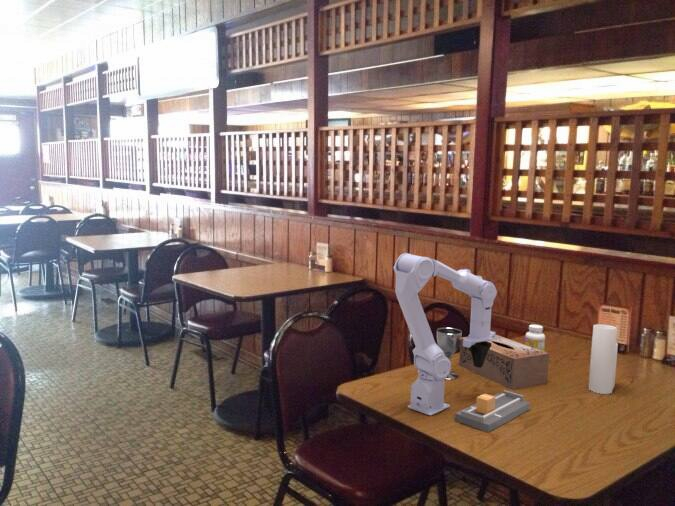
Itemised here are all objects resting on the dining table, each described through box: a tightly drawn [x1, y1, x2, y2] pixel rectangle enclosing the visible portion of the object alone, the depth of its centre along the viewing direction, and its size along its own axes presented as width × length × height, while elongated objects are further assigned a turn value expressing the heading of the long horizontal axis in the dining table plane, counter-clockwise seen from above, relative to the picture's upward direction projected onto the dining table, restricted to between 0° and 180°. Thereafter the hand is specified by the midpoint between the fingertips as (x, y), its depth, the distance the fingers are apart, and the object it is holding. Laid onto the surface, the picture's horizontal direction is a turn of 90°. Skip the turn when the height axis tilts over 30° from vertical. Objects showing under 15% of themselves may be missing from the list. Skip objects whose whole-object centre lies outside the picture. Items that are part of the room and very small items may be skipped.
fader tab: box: [475, 393, 495, 414], centre depth 155 cm, size 4×3×4 cm
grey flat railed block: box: [454, 389, 531, 433], centre depth 158 cm, size 23×10×3 cm, turn 135°
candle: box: [588, 323, 619, 395], centre depth 180 cm, size 11×7×20 cm, turn 149°
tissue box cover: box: [458, 334, 550, 390], centre depth 192 cm, size 26×14×10 cm, turn 27°
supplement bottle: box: [524, 324, 546, 352], centre depth 206 cm, size 7×7×13 cm
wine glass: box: [436, 327, 463, 380], centre depth 189 cm, size 8×8×15 cm
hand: (478, 366), depth 170 cm, fingers closed
